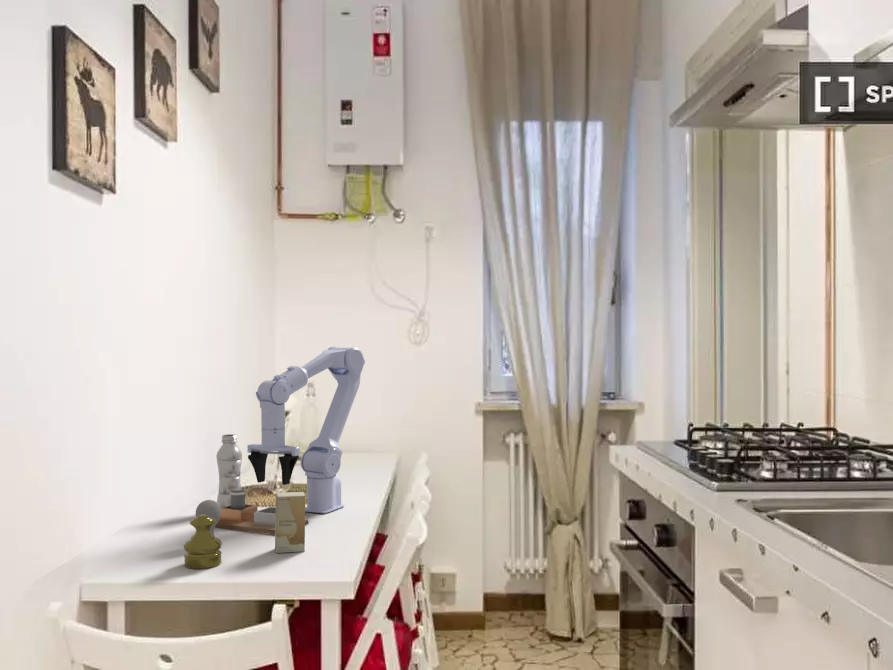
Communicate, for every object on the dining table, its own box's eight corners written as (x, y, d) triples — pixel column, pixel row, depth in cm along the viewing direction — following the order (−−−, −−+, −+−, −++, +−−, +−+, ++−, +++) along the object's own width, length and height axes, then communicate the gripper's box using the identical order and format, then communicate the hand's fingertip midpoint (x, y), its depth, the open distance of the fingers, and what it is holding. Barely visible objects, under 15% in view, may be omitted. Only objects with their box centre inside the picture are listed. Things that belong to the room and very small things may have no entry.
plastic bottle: (236, 514, 213) (235, 437, 213) (212, 513, 214) (211, 436, 214) (247, 509, 219) (246, 434, 219) (223, 508, 220) (223, 433, 220)
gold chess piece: (225, 558, 172) (225, 511, 172) (216, 569, 164) (216, 519, 164) (189, 559, 172) (189, 511, 172) (179, 569, 164) (179, 519, 164)
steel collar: (270, 518, 203) (270, 506, 203) (292, 521, 201) (292, 509, 201) (254, 524, 198) (253, 512, 198) (276, 527, 195) (276, 514, 195)
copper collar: (236, 515, 208) (236, 503, 208) (257, 517, 205) (257, 505, 205) (219, 520, 202) (219, 508, 202) (240, 523, 199) (240, 510, 199)
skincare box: (275, 553, 175) (275, 496, 175) (274, 548, 180) (274, 492, 179) (306, 551, 177) (306, 494, 177) (304, 546, 181) (304, 490, 181)
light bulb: (211, 540, 187) (211, 496, 186) (226, 544, 183) (226, 499, 183) (190, 545, 182) (190, 500, 182) (205, 549, 179) (204, 503, 179)
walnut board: (236, 515, 211) (236, 511, 211) (308, 524, 202) (308, 519, 202) (204, 526, 200) (204, 522, 200) (278, 535, 191) (278, 531, 191)
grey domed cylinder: (237, 516, 206) (236, 488, 206) (248, 517, 204) (248, 489, 204) (227, 519, 203) (227, 491, 202) (239, 521, 201) (238, 492, 201)
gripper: (239, 429, 205) (239, 483, 205) (287, 431, 199) (288, 488, 199) (257, 425, 211) (257, 478, 212) (304, 428, 205) (304, 483, 205)
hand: (273, 483), depth 206 cm, fingers open, 7 cm apart
